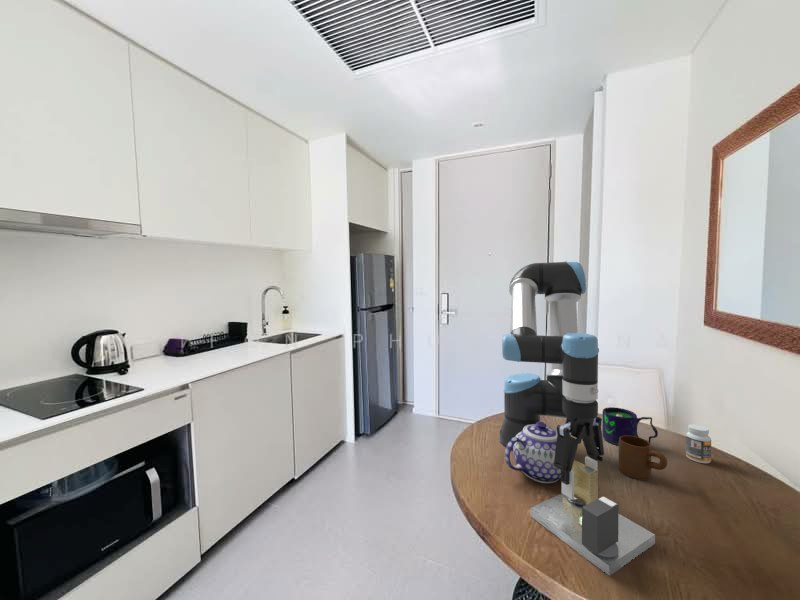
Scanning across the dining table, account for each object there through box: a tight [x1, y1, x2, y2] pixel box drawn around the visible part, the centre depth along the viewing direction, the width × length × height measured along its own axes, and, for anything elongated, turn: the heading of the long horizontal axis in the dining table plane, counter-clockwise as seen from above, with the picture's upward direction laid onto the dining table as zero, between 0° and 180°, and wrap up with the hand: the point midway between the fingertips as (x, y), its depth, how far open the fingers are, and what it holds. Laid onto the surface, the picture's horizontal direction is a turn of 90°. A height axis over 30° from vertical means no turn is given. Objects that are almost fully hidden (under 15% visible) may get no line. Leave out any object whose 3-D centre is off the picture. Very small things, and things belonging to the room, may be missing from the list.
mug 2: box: [618, 435, 668, 481], centre depth 90 cm, size 12×8×9 cm, turn 21°
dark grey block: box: [582, 495, 620, 558], centre depth 64 cm, size 7×6×8 cm
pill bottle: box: [685, 423, 712, 464], centre depth 99 cm, size 6×6×10 cm
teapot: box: [504, 421, 572, 484], centre depth 93 cm, size 25×15×15 cm, turn 109°
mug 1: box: [601, 406, 659, 446], centre depth 110 cm, size 15×10×10 cm, turn 49°
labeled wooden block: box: [566, 459, 599, 506], centre depth 79 cm, size 7×6×8 cm
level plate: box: [529, 493, 656, 577], centre depth 72 cm, size 18×16×3 cm
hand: (579, 489), depth 79 cm, fingers open, 8 cm apart
